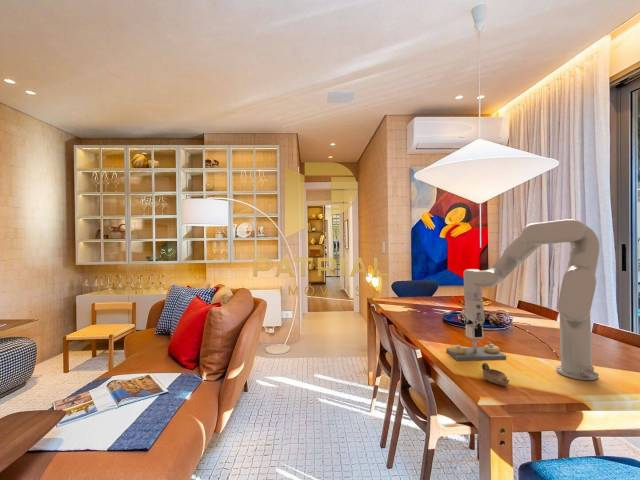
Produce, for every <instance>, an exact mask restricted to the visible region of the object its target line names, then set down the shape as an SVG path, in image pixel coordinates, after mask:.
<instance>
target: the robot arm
mask: <svg viewBox="0 0 640 480" xmlns="http://www.w3.org/2000/svg"><path fill="white" fill-rule="evenodd" d="M559 243H561V244H562V243H569V244H570V252H569V259H568V264H567V267H566V270H565V273H564V274H563V277H562V280H561V281H562V283H561V287H560V292H559V297H558V300H557V312H558V313H559V340H560V341H559V342H560V343H559V347H560V365H557V366H556V372H557V373H559V374H560V375H562V376H564V377H567V378H571V379H575V380H581V381H594V380H597V379H598V378H599V375H600V374H599V373H598V372H596V371H595V367H594V366H593V357H592V355H593V353H592V350H593V349H592V330H591V329H592V327H591V326H592V325H591V324H592V322H591V321H592V320H591V310H592V306H593V302H594V301H593V300H594V297H595V292H596V287H597V276H596V273H597V267H598V263H599V261H598V260H599V256H600V242H599V239H598V236H597V234H596V233H595V231H594V230H593V229H592V228H591V227H589V226H588V225H587V224H585V223H584V222H581V221H580V220H577V219H561V220H553V221H545V222H533V223H528V224H526V226H524V228H523V229H522V231H521V233H519V235H518V236H517V237H516V238H515V239H514V240H513V241H512V242H511V243H510V244H509V245H508V246H507V247H506V248H505V249H504V250H503V253H502V254H501V256H500V257H499V259H498V260H497V261H496V262H495V263H494V264H493V265H491V266H490V268H488V269H486V270H484V269H483V270H480V269H477V268H468V269H467V268H466V269H465V270H464V271H463V295H464V296H463V299H464V317H465V319H466V321H465V323H466V325H468V324H475V328H474V330H475V337H482V328H483V329H484V323H485V310H484V304H483V287H486V288H493V287H495V286H497V285H500V283H502V282H503V281H504V280H505V279H506V278H507V277H508V276H509V275H510V274H511V273H512V272H513V271H514V270H515V269H517V267H519V266H520V265H521V264H523V263H524V261H526V260H527V259H528V258H529V257H530V256H531V255H532V254H533V253H535V251H537V249H539V248H540V247H541V246H542V245H551V244H559ZM482 326H483V327H482Z"/></svg>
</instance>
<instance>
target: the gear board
mask: <svg viewBox="0 0 640 480" xmlns="http://www.w3.org/2000/svg"><path fill="white" fill-rule="evenodd" d="M477 340H478V338H476V339H475V338H472V347H471V346H470V347H465V346H462V345H461V344H456V345H453V346H452V345H451V347H447V348H446V352H447V353H448V354H449V355H450V356H451V357H452V358H453V359H454V360H456V361H458V362H459V360H460V361H489V360H490V361H492V360H507V355H506V354H504V353H503V352H501V351H500V347H499V346H497V345H494V343H491V341H490V340H488V341H487V344H485V345H484V346H478V345H477V343H478V342H477Z"/></svg>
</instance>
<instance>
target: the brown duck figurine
mask: <svg viewBox="0 0 640 480" xmlns="http://www.w3.org/2000/svg"><path fill="white" fill-rule="evenodd" d="M481 368H482V375H483V378H484V380H486V381H487V382H489V383H493V384H495V385H498V386H503V387H504V386H507V385H508V384H509V383H510V379H507V378H508V376H506V374H505V373H504V372H502V371H500V370H497V369H492V368H490V366H489V364H488V363H487V362H482V364H481Z"/></svg>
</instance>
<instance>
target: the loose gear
mask: <svg viewBox="0 0 640 480" xmlns="http://www.w3.org/2000/svg"><path fill="white" fill-rule="evenodd" d="M464 326H465V337H468V338H469V339H473V338H475V339H482V338H484V325H483V326H482V327H483V328H482V337H475V330H474V328H475V324H468V325H467V324H465V325H464Z"/></svg>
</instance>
